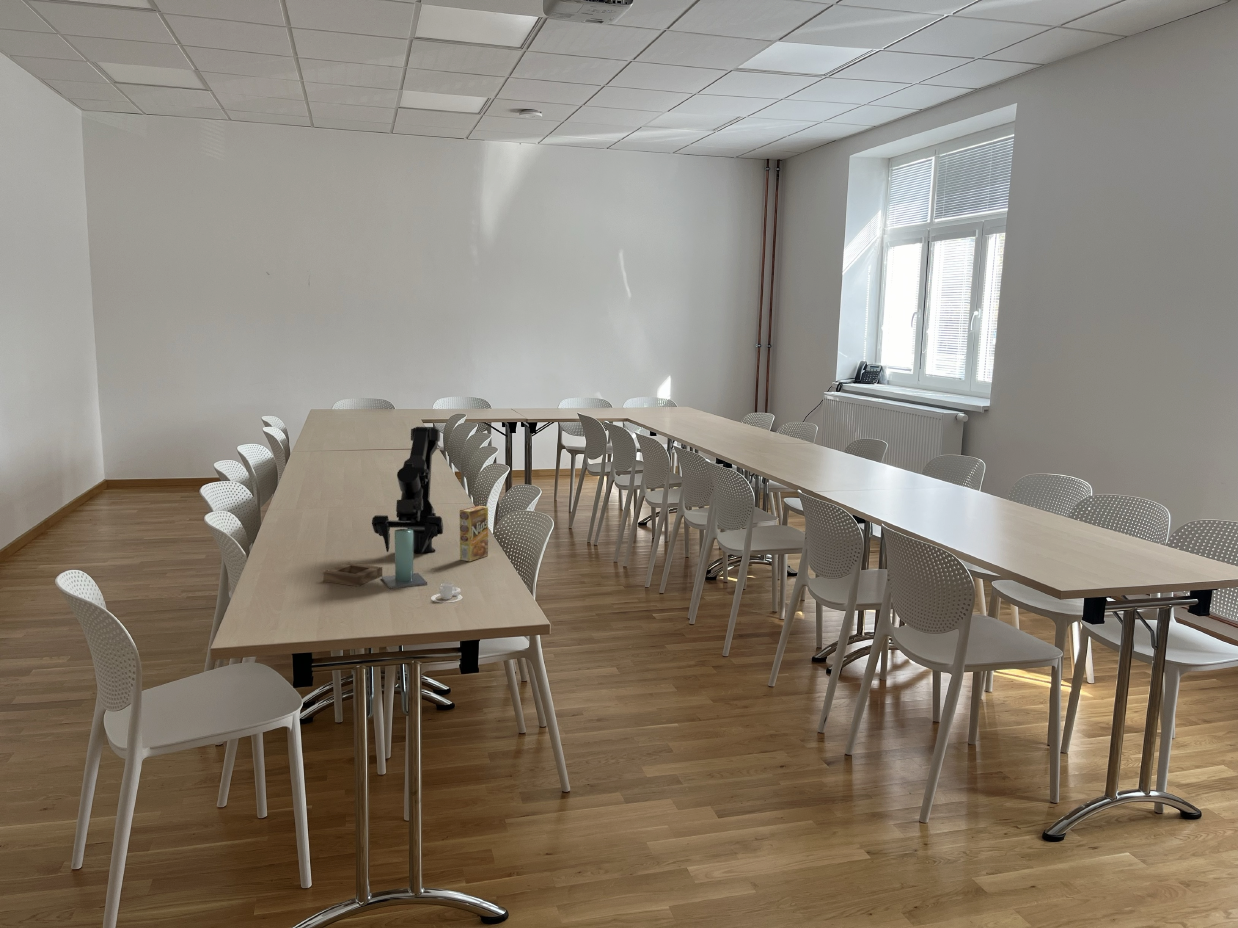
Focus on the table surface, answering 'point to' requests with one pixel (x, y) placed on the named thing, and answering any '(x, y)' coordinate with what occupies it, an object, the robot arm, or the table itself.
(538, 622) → the table surface
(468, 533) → the candy box
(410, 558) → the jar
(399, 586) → the coaster
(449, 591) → the teacup and saucer
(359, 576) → the pocket block
